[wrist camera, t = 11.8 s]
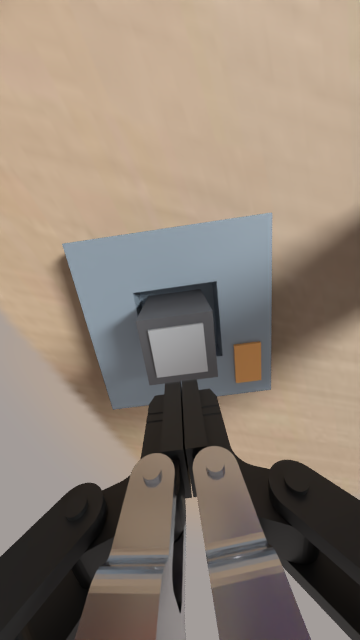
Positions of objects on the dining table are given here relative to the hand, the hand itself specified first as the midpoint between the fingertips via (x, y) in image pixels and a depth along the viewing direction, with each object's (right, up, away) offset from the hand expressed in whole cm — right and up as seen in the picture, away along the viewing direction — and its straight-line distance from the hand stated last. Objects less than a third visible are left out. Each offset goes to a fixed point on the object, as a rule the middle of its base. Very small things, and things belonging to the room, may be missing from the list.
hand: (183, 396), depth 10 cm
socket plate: (0, +4, +11) cm, 12 cm away
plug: (0, +4, +11) cm, 12 cm away
